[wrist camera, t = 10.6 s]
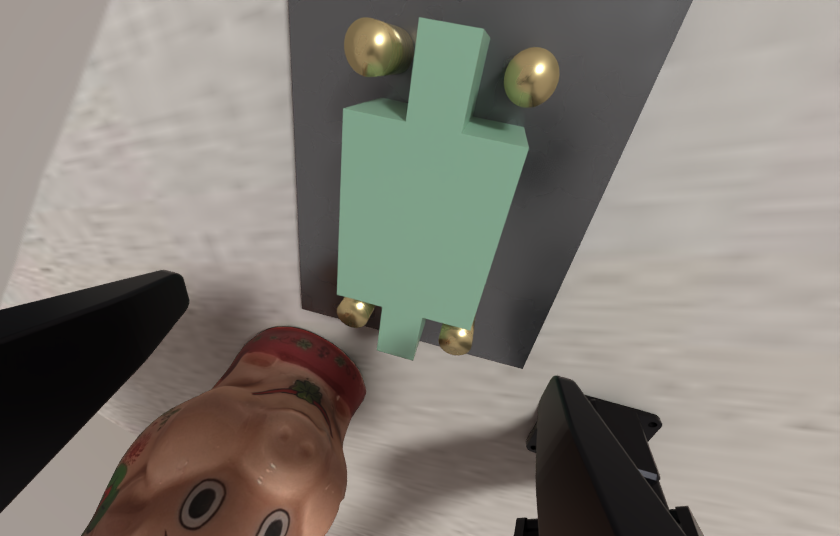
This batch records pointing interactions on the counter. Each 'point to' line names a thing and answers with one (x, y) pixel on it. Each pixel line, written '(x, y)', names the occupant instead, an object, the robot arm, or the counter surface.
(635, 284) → the counter surface
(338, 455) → the sculpted terracotta mug
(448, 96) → the mint green pegged block
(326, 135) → the plate
